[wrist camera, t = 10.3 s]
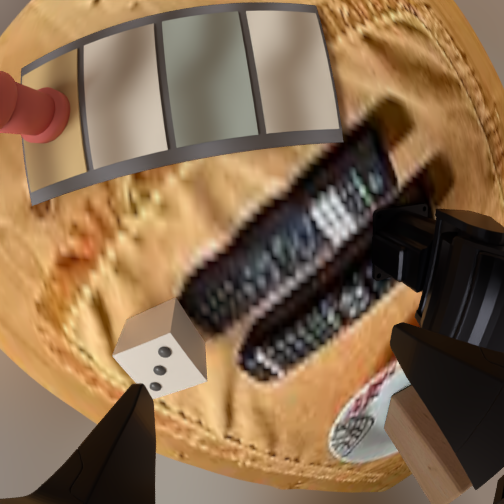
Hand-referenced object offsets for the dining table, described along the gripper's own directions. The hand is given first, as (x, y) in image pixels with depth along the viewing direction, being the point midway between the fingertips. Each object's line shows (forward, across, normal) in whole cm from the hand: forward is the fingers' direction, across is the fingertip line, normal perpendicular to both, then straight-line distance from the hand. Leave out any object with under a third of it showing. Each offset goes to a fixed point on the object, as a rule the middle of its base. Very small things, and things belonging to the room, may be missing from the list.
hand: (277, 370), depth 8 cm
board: (+13, +3, -13) cm, 19 cm away
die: (+13, +7, +6) cm, 16 cm away
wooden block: (+13, -23, +30) cm, 40 cm away
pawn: (+12, +12, -13) cm, 21 cm away
